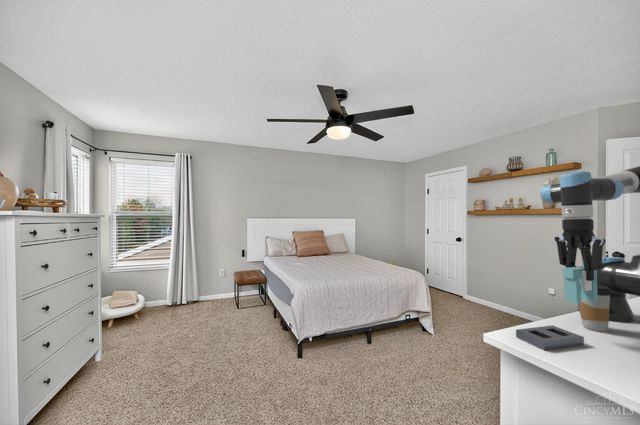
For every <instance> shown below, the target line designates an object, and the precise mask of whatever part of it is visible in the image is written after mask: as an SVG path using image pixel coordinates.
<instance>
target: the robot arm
mask: <svg viewBox="0 0 640 425" xmlns="http://www.w3.org/2000/svg"><path fill="white" fill-rule="evenodd" d="M559 181H560V183H552V184H548V185H544V186H543V187H542V188H541V189H540V191H539V192H540V193H539V195H540V199H541V200H542V201H543V202H544V203H545V204H561V217H562V218H563V219H562V220H561V226H562V228H561V229H562V230H563V232H562V235H559V236H555V237H554V241H555V243H556V246H557V253H558V260H559V262H558V263H559V264H560V265H561V266H563V267H565V268H569V267H577V265H576V263H577V262H576V261H577V260H576V259H577V253H578V250H579V251H580V254H581V259H582V261H581V262H582V263H581V267H582V266H584V269H583V270H582V286H583V290H584V291H590V290H592V282H591V281H594V270H597V285H602V286H606V287H608V289H609V291H610V294H611V295H610V304H609V306H610V310H609V322H610V321H611V322H619V323H621V322H622V323H628V322H629V323H630V322H634V320H635V317H634V316H635V315H634V312H633V310H632V308H631V306H630V304H629V302H628V300H627V297H626V296H627V295H633V296H637V297H640V253H637V254H633V256H632V258H631V260H630V261H629V262H628V261H626V260H625V258H624V257H619V256H603V250H604V245H605V243H606V239H605V238H599V237H597V236H596V235H595V233H594V229H595V225H594V219H593V217H594V205H593V201H596V202H597V201H603V202H605V201H612V200H617V199H618V198H620V197H621V196H622V195H623V194H624V195H625V194H637V193H639V194H640V166H635V167H632V168H628V169H625V170H619V171H616V172H614V173H613V174H609V175H608V174H607V175H602V176H596V177H592V174H591V172H589V171H587V170H585V171H573V172H567V173H563V174H561V176H560V180H559ZM591 244H592V245H591ZM577 311H578V312H579V311H580V308H579V304H577Z"/></svg>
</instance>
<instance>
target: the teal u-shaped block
mask: <svg viewBox="0 0 640 425" xmlns="http://www.w3.org/2000/svg"><path fill="white" fill-rule="evenodd" d="M583 269H584V266H582V265H581V266H576V267H569V268H566V267H562V277H563V286H564V287H563V291H564V292H563V293H564V301H566V302H568V303H569V302H570V303H572V304H576V305H578V304H581V299H584V300H588V301H592V302H598V293H597V270H594V281H591V282H592V290H590V291H584V290H583V286H582V270H583ZM580 283H581V291H580Z"/></svg>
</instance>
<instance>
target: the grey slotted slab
mask: <svg viewBox="0 0 640 425" xmlns="http://www.w3.org/2000/svg"><path fill="white" fill-rule="evenodd" d="M515 335H516V336H515V338H517V339H519V340H521V341H523V342H525V343H528V344H530V345H532V346H534V347H536V348H538V349H540V350H543V351H544V352H546V351H551V349H552V350H558V349H565V348H573V347H582V346H585V336H582V335H580V334H577V333H573V332H572V331H569V330H566V329H563V328H560V327H558V326H556V325H546V326H544V325H543V326H538V327H537V326H535V327H530V328H529V327H526V328H518V329H515Z"/></svg>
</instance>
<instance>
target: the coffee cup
mask: <svg viewBox="0 0 640 425" xmlns="http://www.w3.org/2000/svg"><path fill="white" fill-rule="evenodd" d="M580 291H581V283H580ZM597 293H598V302H592V301H588V300H584V299H581V304H579V308H580V312H579V313H580V320H581V325H582V326H583V328H584V329H586V330H589V331H591V332H597V333H607V332H608V331H609V322H610V320H609V310H610V306H609V304H610V295H611V294H610V291H609V289H608V287H606V286H602V285H597Z"/></svg>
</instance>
